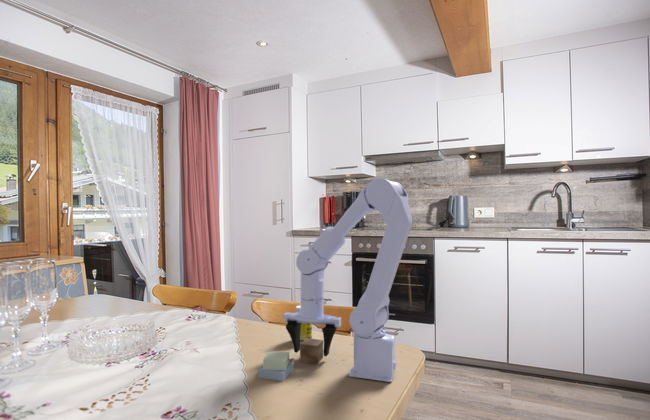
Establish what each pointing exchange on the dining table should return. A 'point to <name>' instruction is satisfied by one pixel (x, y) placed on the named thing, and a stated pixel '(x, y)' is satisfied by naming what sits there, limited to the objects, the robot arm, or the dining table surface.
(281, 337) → the dining table surface
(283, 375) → the slate slab
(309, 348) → the walnut cube
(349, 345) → the dining table surface
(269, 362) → the sage block
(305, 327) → the supplement bottle
